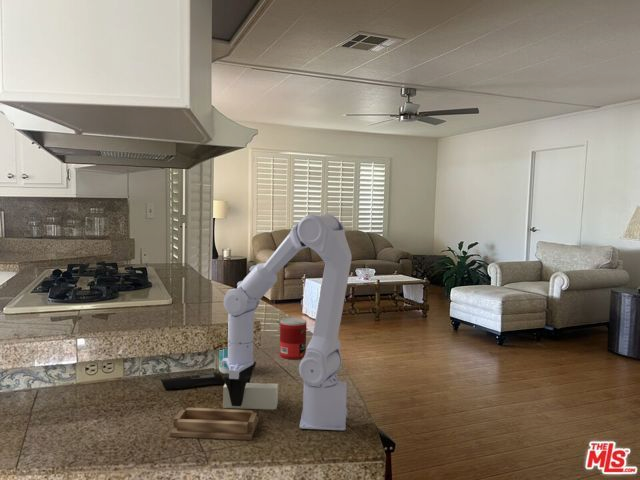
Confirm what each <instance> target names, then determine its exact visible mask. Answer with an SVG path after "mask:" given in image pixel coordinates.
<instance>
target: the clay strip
mask: <svg viewBox="0 0 640 480" xmlns="http://www.w3.org/2000/svg"><path fill="white" fill-rule="evenodd" d="M278 390H279V383H257V382H250V383H246V386H245V390H244V396H243V402H242V405H241V406H232V404H231V401H230V396H229V391H228V388H227V386H226V384H223V389H222V393H223V394H222V409H241V410H274V409H276V410H277V407H278V401H279V400H278V399H279V398H278V395H279V391H278Z"/></svg>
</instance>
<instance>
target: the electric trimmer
mask: <svg viewBox="0 0 640 480" xmlns="http://www.w3.org/2000/svg"><path fill="white" fill-rule="evenodd" d="M160 382H161V384H162V386H163V388H164V389H167V390H168V389H170V390H171V389H190V388H193V387H198V386H199V387H202V386H209V385H221V386H222V385H223V386H224V385H225V382H224V380H223V375H222V373H221V372H218V373H217V372H216V371H213V373H210V374H209V373H208V374H196V375H185V376H178V377H172V378H171V377H168V378H163V379H160Z"/></svg>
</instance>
